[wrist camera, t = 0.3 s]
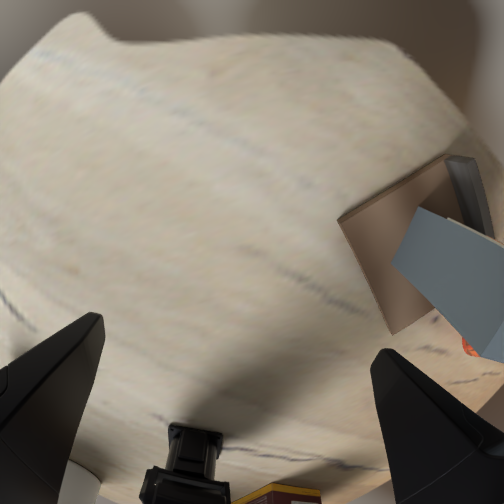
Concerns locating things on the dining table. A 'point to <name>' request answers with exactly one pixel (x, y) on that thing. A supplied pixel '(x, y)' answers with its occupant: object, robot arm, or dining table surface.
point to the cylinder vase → (78, 485)
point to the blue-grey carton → (458, 277)
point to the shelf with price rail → (397, 223)
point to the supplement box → (281, 495)
